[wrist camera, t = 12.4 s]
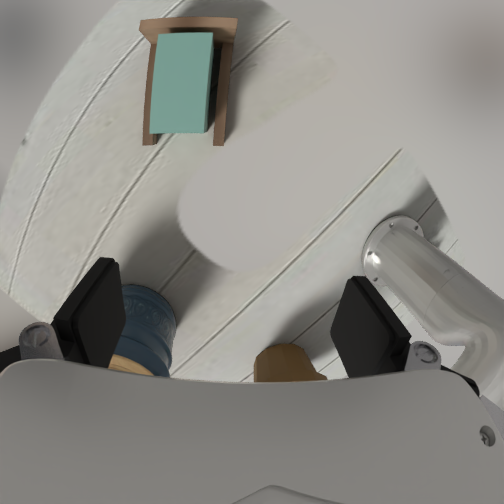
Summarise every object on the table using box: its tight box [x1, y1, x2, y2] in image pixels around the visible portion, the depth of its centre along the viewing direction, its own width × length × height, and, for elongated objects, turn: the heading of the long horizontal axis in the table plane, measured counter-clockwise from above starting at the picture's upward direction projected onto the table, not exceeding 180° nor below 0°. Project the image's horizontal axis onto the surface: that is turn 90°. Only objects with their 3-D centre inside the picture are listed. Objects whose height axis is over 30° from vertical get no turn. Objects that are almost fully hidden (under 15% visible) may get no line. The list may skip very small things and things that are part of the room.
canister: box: [108, 285, 176, 377], centre depth 33 cm, size 13×13×18 cm
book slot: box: [139, 17, 238, 146], centre depth 24 cm, size 9×14×8 cm
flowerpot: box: [254, 344, 327, 382], centre depth 36 cm, size 14×14×30 cm
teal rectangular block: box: [149, 33, 214, 134], centre depth 24 cm, size 5×10×9 cm, turn 175°
